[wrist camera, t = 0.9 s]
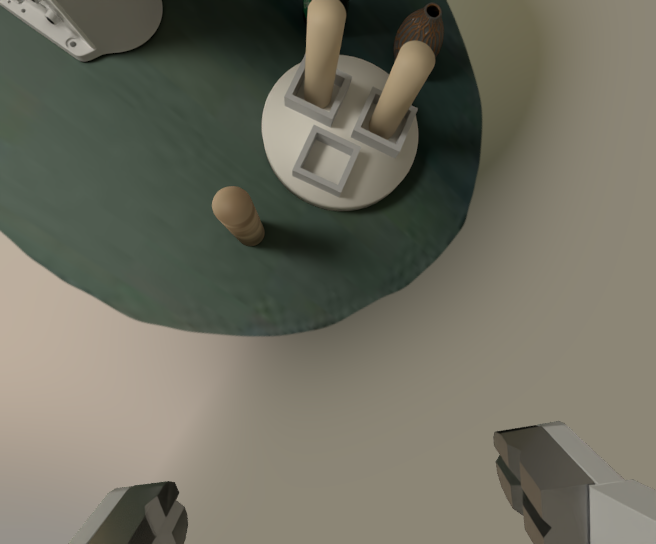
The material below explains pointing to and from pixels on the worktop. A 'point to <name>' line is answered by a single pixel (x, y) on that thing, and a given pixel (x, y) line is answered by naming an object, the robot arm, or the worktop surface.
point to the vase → (422, 29)
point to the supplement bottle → (307, 0)
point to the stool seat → (343, 118)
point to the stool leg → (238, 215)
